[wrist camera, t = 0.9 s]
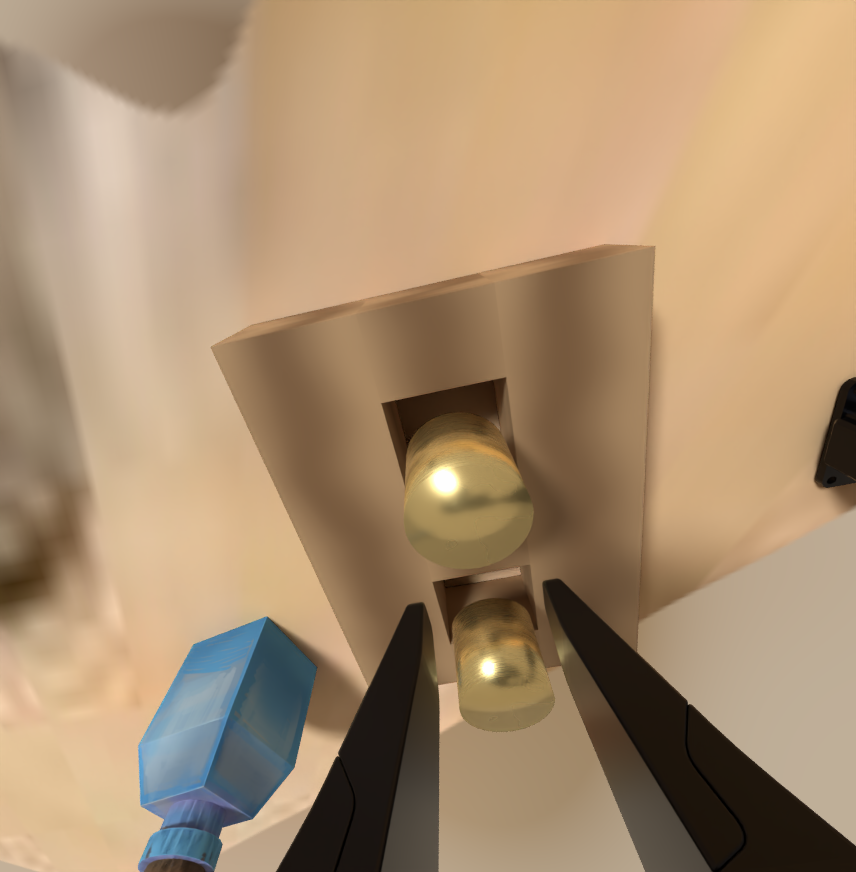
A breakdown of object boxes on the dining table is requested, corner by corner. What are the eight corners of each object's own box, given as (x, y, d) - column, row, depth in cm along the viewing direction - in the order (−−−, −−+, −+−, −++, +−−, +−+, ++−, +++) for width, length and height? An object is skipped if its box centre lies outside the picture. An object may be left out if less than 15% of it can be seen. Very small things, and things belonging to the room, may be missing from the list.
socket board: (604, 244, 17) (655, 246, 13) (607, 597, 27) (637, 653, 23) (250, 325, 18) (210, 347, 14) (378, 636, 28) (372, 695, 24)
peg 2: (527, 591, 19) (551, 668, 16) (534, 644, 21) (557, 724, 17) (445, 605, 19) (451, 684, 16) (459, 656, 21) (467, 737, 18)
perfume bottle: (248, 691, 30) (156, 939, 20) (193, 644, 28) (53, 900, 17) (317, 667, 29) (260, 916, 19) (267, 616, 27) (167, 870, 16)
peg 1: (500, 402, 15) (527, 452, 11) (513, 490, 16) (538, 557, 13) (395, 424, 15) (389, 480, 11) (418, 508, 17) (419, 578, 13)
